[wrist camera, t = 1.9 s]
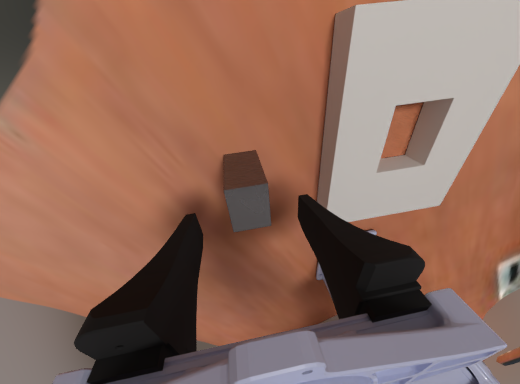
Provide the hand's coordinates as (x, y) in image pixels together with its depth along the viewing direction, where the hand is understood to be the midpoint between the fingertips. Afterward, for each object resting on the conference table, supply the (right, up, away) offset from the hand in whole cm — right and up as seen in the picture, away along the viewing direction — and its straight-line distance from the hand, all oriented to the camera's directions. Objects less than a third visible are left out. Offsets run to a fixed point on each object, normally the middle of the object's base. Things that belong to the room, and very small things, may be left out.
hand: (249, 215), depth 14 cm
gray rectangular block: (-1, +4, +5) cm, 7 cm away
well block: (+14, +8, +5) cm, 17 cm away
